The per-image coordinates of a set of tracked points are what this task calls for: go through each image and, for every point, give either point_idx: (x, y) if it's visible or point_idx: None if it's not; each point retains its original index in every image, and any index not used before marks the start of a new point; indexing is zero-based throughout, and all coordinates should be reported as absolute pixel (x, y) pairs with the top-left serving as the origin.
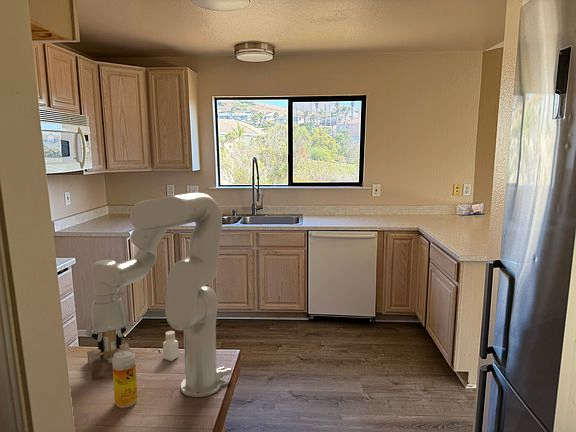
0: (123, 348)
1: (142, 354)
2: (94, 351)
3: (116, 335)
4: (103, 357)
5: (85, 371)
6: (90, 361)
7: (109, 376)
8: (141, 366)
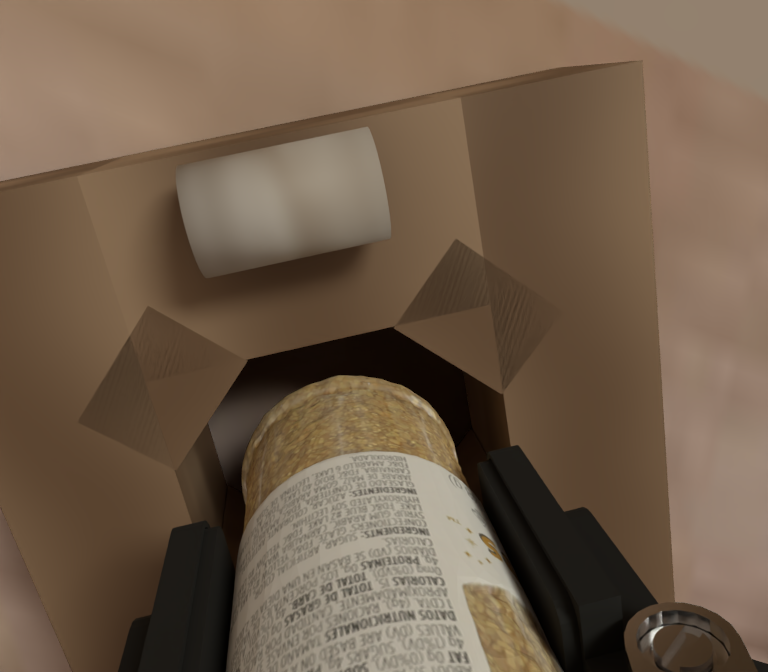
0: (561, 308)
1: (742, 194)
2: (34, 261)
3: (587, 669)
4: (244, 498)
5: None
6: (60, 617)
7: None
8: (677, 510)
